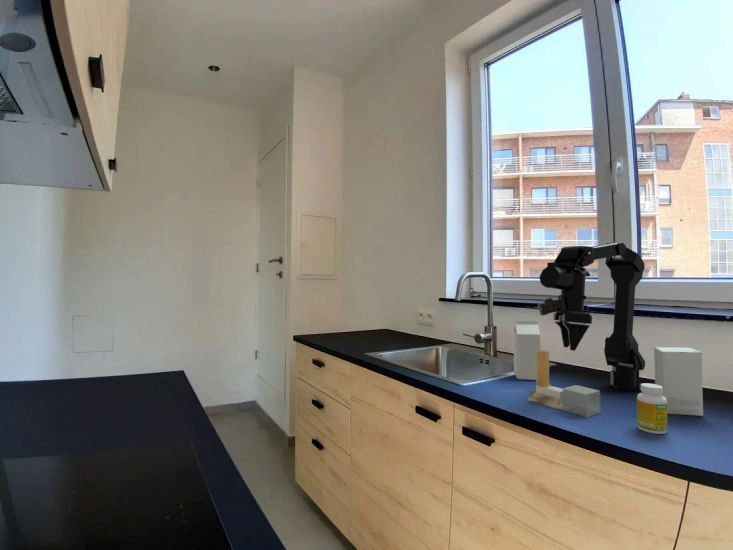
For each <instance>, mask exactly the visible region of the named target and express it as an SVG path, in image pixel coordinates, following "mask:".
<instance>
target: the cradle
mask: <svg viewBox="0 0 733 550" xmlns="http://www.w3.org/2000/svg"><path fill="white" fill-rule="evenodd" d="M529 393H530V394H529V396H528V397H527V401H529V402H532V401H533V402H532V403H537V404H540V405H542V404H543V406H546V405H547V406H546V407H549V406H550V408H552V409H556V408H557V410H559V409H561V410H560V411H563V404H559V399H558V398H554V397H551V396H547V395H543V394H540V393H536V389H532V390H530V391H529Z"/></svg>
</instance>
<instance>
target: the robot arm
mask: <svg viewBox="0 0 733 550" xmlns="http://www.w3.org/2000/svg"><path fill="white" fill-rule="evenodd" d="M615 256H617V257H615ZM618 256H620V257H618ZM600 259H605V263H604V265H606V267H607V268H608V269H609V271H610V279H611V280H612V281H613V283H614V284H615V297H614V299H615V300H614V311H613V312H614V316H613V330H612V333H611V334H610V336H609V337H608V336H607V337H605V338H604V339H605V340H604V347H603V348H604V349H603V353H604V357H605V361H606V365H607V366H610V367H612V368H611V369H610V371H609V372H610V375H609V376H610V382H609V383H610V385H611V386H612V385H613V387H614V388H615V389H617V390H624V391H625V390H627V391H641V386H640V371H644V370H645V367H646V361H645V359H644V357H643V356H642V353H641V352H640V351H639V343H638V341H637V339H636V338H635V336H634V335H633V334H634V333H633V331H634V316H635V315H634V313H635V312H634V311H635V298H636V297H635V295H636V286H637V285H638V284H639V283H640V282H641V280H642V278H643V275H644V270H645V266H646V265H645V262H644V260H643V259H642V257H641V256H640V255H639V253H638V252H636V251H634V250H632V249H630V248H629V247H627V245H626V244H625V243H624V242H621V241H615V242H614V241H613V242H606V243H603V244H598V245H593V246H592V245H586V244H585V245H572V246H571V245H570V246H564V247H561V249H560V252H558V255H557V256H556V257H555V259H554V261H553V262H550V261H549V262H547V266H546V267H545V268H543V269H542V271H541V273H540V274H539V282H540V284H541V285H542V286H543V287H544V288H547V289H553V290H554V289H555V290H560V294H559V295H558V296H557V299H555V300H553V299H552V297H551V298H545V299H544V300H543V303H538V304H537V308H538V311H539V314H540V316H546V315H549V314H551V313H553V318H552V319H553V321H554V323H555V324H556V325H557V326H558V327H559V329H560V334H561V340H562V344H563V345H562V346H563V347H564V348H569V349H570V351H573V352H575V351H576V349H577V347H578V346H579V344H580V342H581V341H582V339H583V338H584V336H585V335H586V333H587V331H588V330H589V328H590V325H592V324H593V316H592V315H591V314H590V313H589V312H588V311H587V312H586V311H585V310H584V307H585V300H587V295H585V290H586V277H588V278H589V277H590V276H591V274H590V273H589V270H588V271H587V270H586V269H587V268H586V267H588V266H591V265H592V264H593V263H594V262H595V261H596V260H600Z"/></svg>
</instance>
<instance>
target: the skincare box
mask: <svg viewBox="0 0 733 550" xmlns="http://www.w3.org/2000/svg"><path fill="white" fill-rule="evenodd" d="M653 355H654V358H653V359H654V384H656V385H660V386H662V387H663V394H662V396H664V397H665V398H666V399H667V415H668V414H670V415H681V416H682V415H685V416H699V417H704V398H703V396H704V395H703V368H702V367H703V364H702V362H703V361H702V359H703V357H702V355H703V353H702V352H701V351H700V350H697V349H694V348H692V347H672V346H671V347H665V346H664V347H663V346H662V347H661V346H654V347H653Z"/></svg>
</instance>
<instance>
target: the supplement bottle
mask: <svg viewBox="0 0 733 550" xmlns="http://www.w3.org/2000/svg"><path fill="white" fill-rule="evenodd" d="M640 388H641V390H640V391H641V392H640V393H638V394H637V396H636V422H637V423H636V424H637V425H636V426H637V428H638V429H639V430H641V431H642V430H643V432H645V433H650V434H655V435H663V434H664V435H665V434H667V433H668V414H667V399H666V398H665V397H664V396H662V394H663V387H662V386H660V385H656V384H655V383H648V382H647V383H646V382H645V383H640Z"/></svg>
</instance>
